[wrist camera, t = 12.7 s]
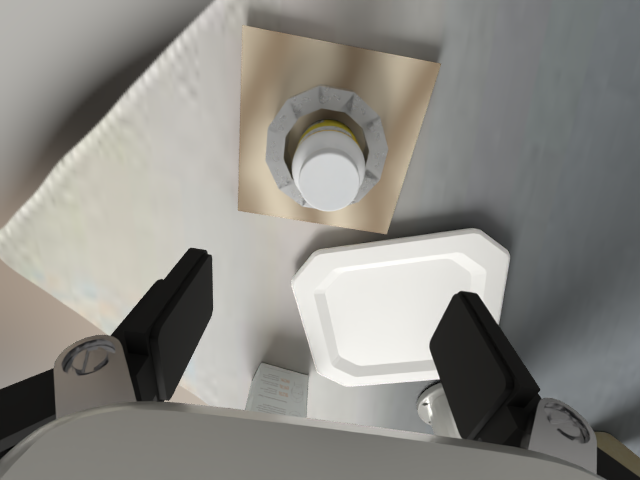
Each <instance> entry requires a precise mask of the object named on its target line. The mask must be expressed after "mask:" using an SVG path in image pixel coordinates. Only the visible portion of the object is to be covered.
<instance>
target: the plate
mask: <svg viewBox="0 0 640 480" xmlns="http://www.w3.org/2000/svg"><path fill="white" fill-rule="evenodd" d="M509 262H510V254H509V252H508V250H507V249H505V248H504V247H503V246H501V245H500V244H499V243H497V242H496V241H495V240H493V239H492V238H491V237H489V236H488V235H487V234H486V233H484V232H483V231H482V230H480V229H475V228H468V229H461V230H453V231H446V232H439V233H432V234H425V235H418V236H410V237H403V238H396V239H389V240H382V241H374V242H367V243H360V244H353V245H345V246H338V247H331V248H324V249H319V250H317V251H315V252H313V253H312V254H311V256H310V257H309V258H308V259H307V260H306V262H305V263H304V264H303V265H302V267H301V268H300V269H299V270H298V271H297V273H296V274H295V275H294V276H293V278H292V281H291V286H292V289H293V293H294V296H295V300H296V303H297V307H298V310H299V313H300V317H301V320H302V324H303V327H304V331H305V334H306V337H307V341H308V344H309V348H310V351H311V354H312V358H313V361H314V365H315V368H316V372H317V373H318V374H319V375H322V376H324V377H326V378H328V379H330V380H332V381H334V382H337V383H339V384H341V385H343V386H347V387H352V386H364V385H376V384H388V383H400V382H412V381H423V380H435V379H440V378H439V375H438V372H437V369H436V367H435V364H434V361H433V358H432V355H431V352H430V349H429V343H430V340H431V338H432V336H433V334H434V332H435V330H436V328H437V326H438V324H439V322H440V320H441V318H442V316H443V314H444V312H445V310H446V308H447V307H448V305H449V303H450V301H451V299H452V297H453V295H454V294H458V292H460V291H467V292H473V293H477V294H478V295H479V297H480V298H481V300H482V301H483V303H484V304H485V306H486V307H487V309H488V310H489V312H490V313H491V315H492V316H493V318H494V319H495V321H496V322H497V324H498V326H499V321H500V315H501V309H502V303H503V297H504V291H505V285H506V279H507V274H508V268H509Z"/></svg>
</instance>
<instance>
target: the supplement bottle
mask: <svg viewBox="0 0 640 480" xmlns="http://www.w3.org/2000/svg"><path fill="white" fill-rule="evenodd" d="M292 175H293V179H294V182H295V184H296V186H297V188H298V189H299V191H300V192H301V195H302V196H303V198H304V199H305V201H306V202H307V203H308V204H309V205H311V206H312V207H314V208H316V209H318V210H322V211H336V210H340V209H342V208H344V207H346V206H347V205H349V204H350V203H351V202H352V201H353V200H354V198H355V197H356V195H357V193H358V190H359V188H360V186H361V184H362V182H363V179H364V175H365V160H364V156H363V153H362V151H361V149H360V146H359V144H358V142H357V140H356V138H355V135H354V134H353V132H352V131H351V129H350V128H349V127H348V126H347V125H345V124H344V123H342V122H341V121H338V120H335V119H321V120H318V121H316V122H314V123H312V124H311V125H309V126H308V127H307V128H306V129H305V131H304V132H303V134H302V136H301V138H300V140H299V143H298V146H297V149H296V151H295V154H294V158H293V162H292Z"/></svg>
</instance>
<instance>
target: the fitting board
mask: <svg viewBox="0 0 640 480" xmlns="http://www.w3.org/2000/svg"><path fill="white" fill-rule="evenodd" d="M440 66H441V64H440V63H435V62H429V61H424V60H419V59H414V58H409V57H404V56H399V55H394V54H388V53H383V52H378V51H373V50H368V49H363V48H358V47H352V46H347V45H342V44H337V43H332V42H327V41H322V40H317V39H311V38H306V37H301V36H296V35H291V34H286V33H281V32H276V31H270V30H265V29H260V28H255V27H250V26H245V25H242V64H241V105H240V146H239V188H238V211H243V212H250V213H256V214H262V215H268V216H275V217H281V218H287V219H294V220H300V221H306V222H312V223H319V224H325V225H331V226H337V227H344V228H350V229H356V230H363V231H369V232H375V233H381V234H387V232H388V229H389V225H390V222H391V219H392V216H393V213H394V210H395V207H396V203H397V200H398V197H399V194H400V191H401V188H402V185H403V182H404V178H405V175H406V172H407V169H408V166H409V163H410V160H411V157H412V153H413V150H414V147H415V144H416V141H417V138H418V135H419V132H420V128H421V125H422V122H423V119H424V116H425V113H426V110H427V107H428V103H429V100H430V97H431V94H432V91H433V88H434V85H435V82H436V78H437V75H438V72H439V69H440ZM320 84H324V85H329V86H334V87H340V88H345V89H350V90H353V91H354V92H355V93H356V94H357V95H358V96H359V97H360V98H361V99H362V100H363V101H364V102H365V103H366V104H367V105H368V106H370V107H371V108H372V109H373V110H374V111H375V112H376V113H377V114H378V115H379V116H380V119H381V123H382V127H383V130H384V134H385V138H386V142H387V146H388V152H387V156H386V160H385V163H384V167H383V170H382V174H381V178H380V180H379V181H378V183H377V184H376V185H375V186H374V187H373V188H372V189H371V190H370V191H369V192H368V193H367V194H366V195H365V196H364V197H363V198H362V199H361V200H360V201H359V202H357V203H354V204H351V205H348V206H346V207H344V208H342V209H340V210H336V211H322V210H318V209H315V208H308V207H302V206H301V205H300V204H298V203H297V202H296V201H294V200H293V199H292V198H290V197H289V196H288V195H286V194H285V193H284V192H282V191H281V190H280V189H278V186H277V184H276V182H275V180H274V178H273V176H272V174H271V172H270V169H269V167H268V165H267V163H266V161H265V160H266V145H267V131H268V127H269V125H270V124H271V122H272V121H273V120H274V118H275V117H276V115H277V114H278V112H279V111H280V109H281V108H282V107H283V105H284V104H285V102H286V101H287V99H289V98H290V97H291V96H294V95H296V94H298V93H301V92H303V91H306V90H308V89H310V88H313V87H315V86H317V85H320ZM321 119H335V120H338V121H341V122H342V123H344V124H345V125H347V126H348V127H349V128H350V129H351V131H352V132H353V134H354V135H355V138H356V140H357V142H358V144H359V146H360V149H361V151H362V153H363V152H364V148H365V144H366V143H365V139H364V136H363V132H362V129H361V126H359V125H358V124H357V123H356V122H355V121H354V120H353V119H352V118H351V117H350V116H349V115H348V114H346V113H345V112H339V111H334V110H328V109H323V108H321V109H319V110H316V111H314V112H311V113H309V114H306V115H304V116H302V117H299V119H298V120H297V121H296V123H295V124H294V126H293V127H292V128H291V130H290V134H289V143H288V152H289V155H290V157H291V159H292V162H293V158H294V154H295V151H296V149H297V146H298V143H299V140H300V138H301V136H302V134H303V132H304V131H305V129H306V128H307V127H308V126H309V125H311V124H312V123H314V122H316V121H318V120H321Z"/></svg>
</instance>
